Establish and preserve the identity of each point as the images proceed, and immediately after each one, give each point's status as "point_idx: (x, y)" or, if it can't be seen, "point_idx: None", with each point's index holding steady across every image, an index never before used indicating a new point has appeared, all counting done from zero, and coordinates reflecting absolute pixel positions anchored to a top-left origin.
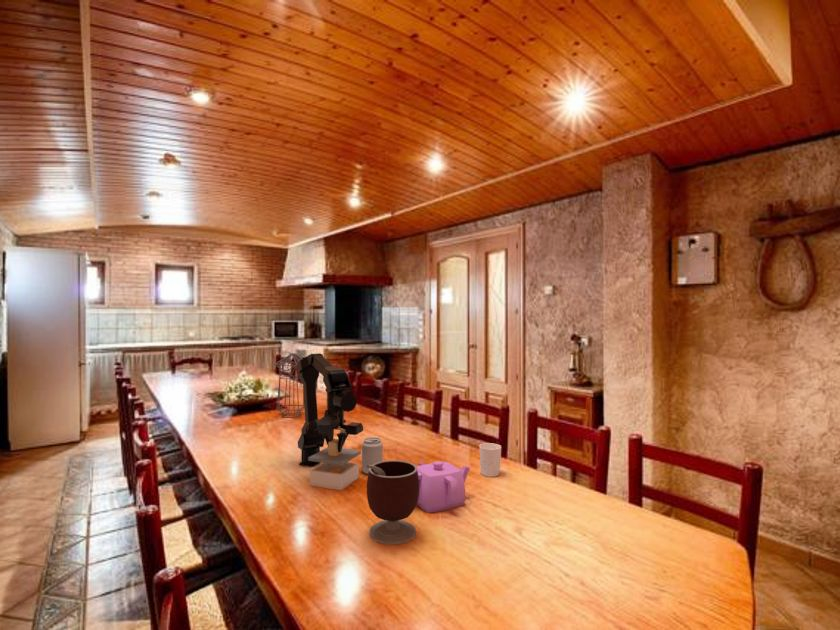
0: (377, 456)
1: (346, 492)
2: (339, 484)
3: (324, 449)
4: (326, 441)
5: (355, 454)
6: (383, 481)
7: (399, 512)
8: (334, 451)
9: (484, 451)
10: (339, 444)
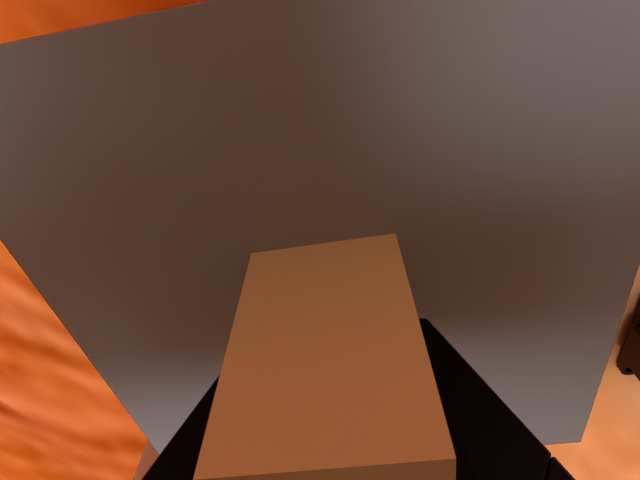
0: (139, 464)
1: (77, 13)
2: None
3: (588, 374)
4: (558, 475)
5: (125, 398)
6: None
7: None
8: (274, 301)
9: None
10: (180, 465)
